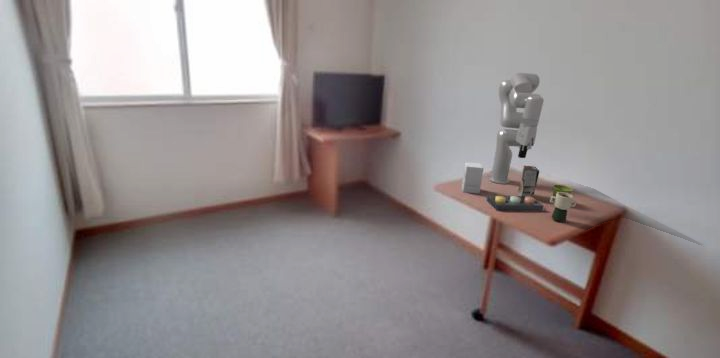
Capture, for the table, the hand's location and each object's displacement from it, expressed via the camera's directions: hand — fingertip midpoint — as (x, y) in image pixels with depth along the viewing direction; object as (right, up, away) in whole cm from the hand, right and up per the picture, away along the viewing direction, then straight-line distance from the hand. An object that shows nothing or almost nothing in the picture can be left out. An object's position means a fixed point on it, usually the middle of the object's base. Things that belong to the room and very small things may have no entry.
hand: (521, 157), depth 189 cm
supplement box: (-20, -18, +19) cm, 33 cm away
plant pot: (+24, -24, +10) cm, 35 cm away
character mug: (+12, -31, -11) cm, 35 cm away
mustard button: (-11, -24, +1) cm, 27 cm away
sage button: (-3, -24, +2) cm, 25 cm away
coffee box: (+9, -20, +17) cm, 28 cm away
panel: (-3, -25, +2) cm, 25 cm away
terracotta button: (+5, -25, +3) cm, 25 cm away
